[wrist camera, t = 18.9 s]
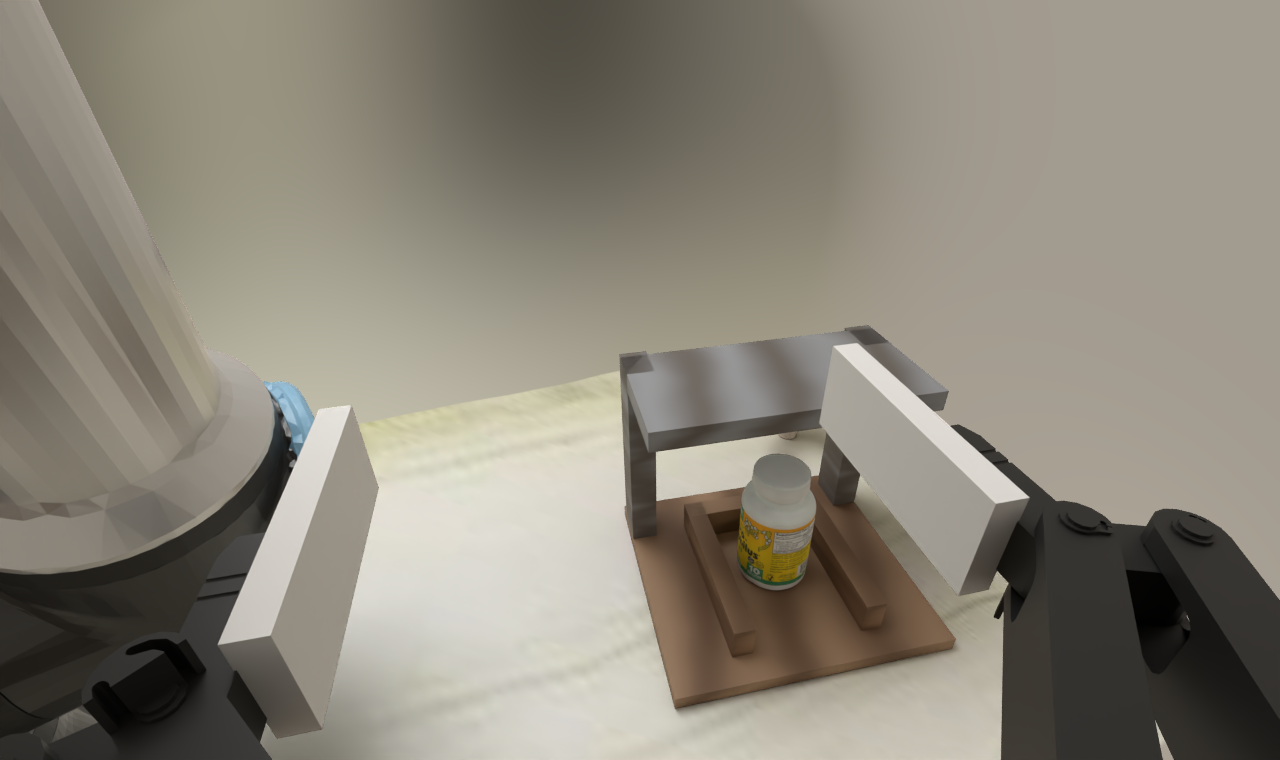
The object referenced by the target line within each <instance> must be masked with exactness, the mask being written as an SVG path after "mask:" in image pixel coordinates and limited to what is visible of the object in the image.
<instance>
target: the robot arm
mask: <svg viewBox="0 0 1280 760" xmlns="http://www.w3.org/2000/svg"><path fill="white" fill-rule="evenodd" d="M819 424H820V425H821V426H822V427H823V429H824V430H825V431H826V432H827V434H828V435H829V436H830V437H831V439H832V440H833V441H834V442H835V444H836V445H837V446H838V447H839V449H840V450H841V451H842V452H843V453H844V455H845V456H846V457H847V458H848V460H849V461H850V462H851V463H852V465H853V466H854V467H855V468H856V470H857V471H858V472H859V473H860V475H861V476H862V477H863V478H864V480H865V481H866V482H867V483H868V485H869V486H870V487H871V488H872V490H873V491H874V492H875V493H876V495H877V496H878V497H879V498H880V500H881V501H882V502H883V503H884V504H885V506H886V507H887V508H888V509H889V511H890V512H891V513H892V514H893V516H894V517H895V518H896V519H897V521H898V522H899V523H900V524H901V526H902V527H903V528H904V529H905V531H906V532H907V533H908V534H909V536H910V537H911V538H912V539H913V541H914V542H915V543H916V544H917V546H918V547H919V548H920V549H921V551H922V552H923V553H924V554H925V555H926V557H927V558H928V559H929V560H930V562H931V563H932V564H933V565H934V567H935V568H936V569H937V570H938V572H939V573H940V574H941V575H942V577H943V578H944V579H945V580H946V582H947V583H948V584H949V585H950V587H951V588H952V589H953V590H954V592H955V593H956V594H957V595H958V596H961V595H965V594H970V593H975V592H980V591H984V590H989V587H990V585H991V583H992V581H993V578H994V576H995V574H996V572H997V571H998V572H999V573H1000V574H1001V575H1002V576H1003V577H1004V578H1005V579H1006V581H1007V582H1008V583H1009V584H1008V586H1007V588H1006V590H1005V592H1004V594H1003V596H1002V599H1001V601H1000V603H999V605H998V607H997V609H996V612H995V614H994V618H997V619H999V618H1000V616H1001V614H1002V612H1004V627H1003V682H1002V737H1001V760H1163V758H1162V753H1161V748H1160V743H1159V738H1158V733H1157V728H1156V723H1157V725H1158V727H1159V729H1160V731H1161V733H1162V735H1163V737H1164V740H1165V742H1166V744H1167V746H1168V748H1169V750H1170V752H1171V754H1172V756H1173V758H1174V760H1280V600H1279V599H1278V598H1277V596H1276V595H1275V594H1274V593H1273V591H1272V590H1271V589H1270V587H1269V586H1268V585H1267V584H1266V582H1265V581H1264V579H1263V578H1262V577H1261V576H1260V574H1259V573H1258V572H1257V570H1256V569H1255V568H1254V567H1253V565H1252V564H1251V563H1250V561H1249V560H1248V559H1247V558H1246V556H1245V555H1244V554H1243V552H1242V551H1241V550H1240V549H1239V547H1238V546H1237V545H1236V543H1235V542H1234V541H1233V540H1232V538H1231V537H1230V536H1228V534H1227V533H1226V532H1225V531H1223V530H1222V529H1221V528H1220V527H1218V526H1217V525H1215V524H1214V523H1212V522H1210V521H1209V520H1207V519H1205V518H1203V517H1201V516H1198V515H1196V514H1193V513H1190V512H1186V511H1182V510H1177V509H1162V510H1159V511H1156V512H1155V513H1154V514H1153V516H1152V517H1151V519H1150V521H1149V522H1148V524H1147V526H1137V525H1125V524H1113V523H1111V522H1110V521H1109V520H1108V519H1107V518H1106V517H1105V516H1103V515H1102V514H1100V513H1098V512H1097V511H1095V510H1093V509H1092V508H1089V507H1086V506H1084V505H1081V504H1078V503H1073V502H1068V501H1055V500H1054V499H1053V498H1052V497H1051V496H1050V495H1048V494H1047V493H1046V492H1045V491H1044V490H1043V489H1042V488H1040V487H1039V486H1038V485H1037V484H1036V483H1034V482H1033V481H1032V480H1031V479H1030V478H1029V477H1028V476H1026V475H1025V474H1024V473H1023V472H1022V471H1021V470H1019V469H1018V468H1017V467H1016V466H1015V465H1014V464H1012V463H1009V462H1008V459H1007V458H1006V457H1004V456H1003V455H1002V454H1001V453H1000V452H996V451H995V448H994V447H993V446H991V445H990V444H989V443H988V442H987V441H986V440H985V439H983V438H982V437H981V436H980V435H978V434H976V433H974V432H972V431H970V430H968V429H966V428H965V427H962V426H961V425H952V426H949V425H948V424H947V423H946V422H945V421H944V420H943V419H941V418H940V417H939V416H938V415H937V414H936V413H935V412H934V411H933V410H931V409H930V408H929V407H928V406H927V405H926V404H925V403H924V402H922V401H921V400H920V399H919V398H918V397H917V396H916V395H915V394H914V393H912V392H911V391H910V390H909V389H908V388H907V387H906V386H905V385H904V384H902V383H901V382H900V381H899V380H898V379H897V378H896V377H895V376H894V375H892V374H891V373H890V372H889V371H888V370H887V369H886V368H885V367H883V366H882V365H881V364H880V363H879V362H878V361H877V360H876V359H875V358H873V357H872V356H871V355H870V354H869V353H868V352H867V351H866V350H865V349H863V348H862V347H861V346H860V345H859V344H858V343H853V344H845V345H837V346H833V349H832V355H831V360H830V366H829V372H828V377H827V383H826V388H825V394H824V399H823V405H822V410H821V416H820V422H819ZM378 488H379V487H378V484H377V481H376V478H375V475H374V472H373V469H372V466H371V463H370V460H369V457H368V454H367V450H366V447H365V444H364V441H363V438H362V435H361V432H360V429H359V426H358V423H357V420H356V417H355V414H354V411H353V408H352V405H348V406H340V407H331V408H323V409H319V410H318V412H317V415H316V417H315V418H314V416H313V414H312V412H311V410H310V408H309V406H308V404H307V402H306V400H305V398H304V397H303V395H302V394H301V392H300V391H299V390H298V389H297V388H296V387H295V386H293V385H292V384H290V383H287V382H282V381H280V382H273V383H270V382H265V381H264V382H263V381H262V380H261V379H260V378H259V377H258V376H257V375H256V374H255V372H253V371H252V370H251V369H250V368H249V367H248V366H247V365H245V364H244V363H242V362H241V361H239V360H237V359H236V358H234V357H231V356H229V355H227V354H225V353H222V352H220V351H216V350H213V349H209V348H207V347H205V346H204V344H203V342H202V340H201V338H200V335H199V334H198V331H197V329H196V327H195V325H194V323H193V321H192V319H191V317H190V315H189V313H188V311H187V308H186V306H185V304H184V302H183V300H182V298H181V296H180V294H179V292H178V290H177V288H176V286H175V284H174V281H173V279H172V277H171V275H170V273H169V271H168V269H167V267H166V265H165V263H164V261H163V259H162V257H161V254H160V253H159V250H158V248H157V246H156V244H155V242H154V240H153V238H152V236H151V234H150V232H149V229H148V227H147V225H146V223H145V221H144V219H143V217H142V215H141V213H140V211H139V209H138V207H137V205H136V203H135V200H134V198H133V196H132V194H131V192H130V190H129V188H128V186H127V184H126V182H125V180H124V178H123V175H122V173H121V171H120V169H119V167H118V165H117V163H116V161H115V159H114V157H113V155H112V153H111V151H110V149H109V146H108V144H107V142H106V140H105V138H104V136H103V134H102V132H101V130H100V128H99V126H98V124H97V122H96V120H95V117H94V115H93V113H92V111H91V109H90V107H89V105H88V103H87V101H86V99H85V97H84V95H83V92H82V91H81V88H80V86H79V84H78V82H77V80H76V78H75V76H74V74H73V72H72V70H71V67H70V65H69V63H68V61H67V59H66V57H65V55H64V53H63V51H62V49H61V47H60V45H59V43H58V41H57V38H56V36H55V34H54V32H53V30H52V28H51V26H50V24H49V22H48V20H47V18H46V15H45V13H44V12H43V9H42V7H41V5H40V3H39V1H38V0H0V760H272V759H271V758H270V756H269V755H268V753H267V752H266V751H265V749H264V748H263V747H262V745H261V744H260V740H261V737H262V734H263V731H264V728H265V724H266V722H267V724H268V725H269V727H270V729H271V730H272V732H273V733H274V735H275V736H276V738H277V739H278V738H283V737H287V736H292V735H297V734H302V733H307V732H311V731H316V730H321V729H322V728H323V724H324V720H325V716H326V711H327V707H328V703H329V698H330V694H331V690H332V686H333V681H334V677H335V673H336V668H337V664H338V660H339V656H340V651H341V647H342V643H343V638H344V634H345V630H346V626H347V621H348V617H349V613H350V608H351V604H352V600H353V596H354V591H355V587H356V583H357V578H358V574H359V570H360V566H361V561H362V557H363V553H364V548H365V544H366V540H367V536H368V531H369V527H370V523H371V518H372V514H373V510H374V506H375V501H376V497H377V493H378ZM1186 616H1188V618H1189V620H1188V618H1187V617H1186ZM1189 621H1190V622H1189ZM1155 720H1156V723H1155Z"/></svg>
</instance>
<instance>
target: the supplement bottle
mask: <svg viewBox="0 0 1280 760" xmlns="http://www.w3.org/2000/svg"><path fill="white" fill-rule="evenodd" d="M810 483H811V471H810V469H809V467H808V466H807V465H806V464H805V463H804V462H803V461H801V460H800V459H798V458H795V457H793V456H790V455H785V454H770V455H766V456H764V457H762V458H760V459H759V460H758V461H757V462H756V463H755V466H754V470H753V476H752V481H750V482H749V483H748V484H747V486H746V487H745V489H744V491H743V494H742V500H741V513H740V526H739V537H738V548H737V563H738V567H739V569H740V571H741V572H742V574H743V575H744V576H745V578H747V579H748V580H749V581H751V582H752V583H754V584H756V585H757V586H759V587H761V588H764V589H769V590H784V589H788V588H791V587H793V586H795V585H796V584H798V583H799V582H800V581H801V579H802V578H803V576H804V574H805V571H806V567H807V561H808V556H809V550H810V544H811V538H812V532H813V526H814V520H815V514H816V500H815V497H814V495H813V493H812V492H811V490H810Z"/></svg>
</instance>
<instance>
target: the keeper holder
mask: <svg viewBox="0 0 1280 760" xmlns="http://www.w3.org/2000/svg"><path fill="white" fill-rule="evenodd" d="M853 343H858V344H859V345H860V346H861V347H862V348H863V349H865V350H866V351H867V352H868V353H869V354H870V355H871V356H872V357H873V358H875V359H876V360H877V361H878V362H879V363H880V364H881V365H882V366H883V367H885V368H886V369H887V370H888V371H889V372H890V373H891V374H892V375H894V376H895V377H896V378H897V379H898V380H899V381H900V382H901V383H902V384H904V385H905V386H906V387H907V388H908V389H909V390H910V391H911V392H912V393H914V394H915V395H916V396H917V397H918V398H919V399H920V400H921V401H922V402H924V403H925V404H926V405H927V406H928V407H929V408H930V409H931V410H933V411H940V410H943V409H944V405H945V402H946V399H947V395H948V392H949V391H948V390H947V389H946V388H945V387H943V386H942V385H941V384H940V383H938V382H937V381H936V380H935V379H933V378H932V377H931V376H930V375H929V374H927V373H926V372H925V371H924V370H923V369H921V368H920V367H919V366H918V365H916V364H915V363H914V362H913V361H911V360H910V359H909V358H908V357H907V356H905V355H904V354H903V353H902V352H900V351H899V350H898V349H897V348H895V347H894V346H893V345H892V344H891V343H889V342H888V341H887V340H886V339H885V338H883V337H882V336H881V335H880V334H878V333H877V332H876V331H875V330H873V329H872V328H871V327H870V326H869V325H867V326H857V327H849V328H845V331H841V332H833V333H824V334H816V335H808V336H799V337H790V338H782V339H774V340H765V341H757V342H748V343H739V344H732V345H723V346H714V347H706V348H697V349H689V350H680V351H672V352H663V353H655V354H647V353H646V351H643V352H636V353H627V354H620V378H621V400H622V422H623V444H624V466H625V488H626V506H625V516H626V520H627V524H628V528H629V532H630V536H631V540H632V544H633V547H634V551H635V555H636V559H637V563H638V567H639V571H640V575H641V579H642V582H643V586H644V590H645V594H646V598H647V602H648V606H649V610H650V613H651V617H652V621H653V625H654V629H655V633H656V637H657V641H658V645H659V648H660V652H661V656H662V660H663V664H664V668H665V672H666V676H667V680H668V683H669V687H670V691H671V695H672V699H673V703H674V707H675V708H679V707H684V706H688V705H693V704H698V703H702V702H707V701H711V700H716V699H721V698H725V697H730V696H734V695H739V694H744V693H748V692H753V691H757V690H762V689H767V688H771V687H776V686H781V685H785V684H790V683H794V682H799V681H804V680H808V679H813V678H817V677H822V676H827V675H831V674H836V673H840V672H845V671H850V670H854V669H859V668H863V667H868V666H873V665H877V664H882V663H886V662H891V661H896V660H900V659H905V658H909V657H914V656H919V655H923V654H928V653H932V652H937V651H942V650H946V649H951V648H952V647H953V645H954V642H955V640H956V639H955V638H954V636H953V635H952V633H951V632H950V631H949V629H948V628H947V627H946V625H945V624H944V623H943V621H942V620H941V619H940V617H939V616H938V615H937V613H936V612H935V611H934V609H933V608H932V607H931V605H930V604H929V602H928V601H927V600H926V598H925V597H924V596H923V594H922V593H921V592H920V590H919V589H918V588H917V586H916V585H915V584H914V582H913V581H912V580H911V578H910V577H909V576H908V574H907V573H906V571H905V570H904V569H903V567H902V566H901V565H900V563H899V562H898V561H897V559H896V558H895V557H894V555H893V554H892V553H891V551H890V550H889V549H888V547H887V546H886V545H885V543H884V542H883V540H882V539H881V538H880V536H879V535H878V534H877V532H876V531H875V530H874V528H873V527H872V526H871V524H870V523H869V522H868V520H867V519H866V518H865V516H864V515H863V513H862V512H861V511H860V509H859V508H858V507H857V505H856V504H855V503H854V499H855V495H856V490H857V486H858V481H859V477H860V473H859V472H858V471H857V470H856V468H855V467H854V466H853V465H852V463H851V462H850V461H849V460H848V458H847V457H846V456H845V455H844V453H843V452H842V451H841V450H840V449H839V447H838V446H837V445H836V444H835V442H834V441H833V440H832V439H831V437H830V436H829V435H828V434H827V433H826V439H825V445H824V451H823V456H822V462H821V468H820V473H819V476H812V477H811V483H810V490H811V492H812V493H813V495H814V497H815V500H816V514H815V520H814V526H813V532H812V538H811V544H810V550H809V556H808V561H807V567H806V571H805V574H804V576H803V578H802V579H801V581H800V582H799V583H798V584H796V585H795V586H793V587H791V588H788V589H784V590H769V589H764V588H761V587H759V586H757V585H756V584H754V583H752V582H751V581H749V580H748V579H747V578H745V576H744V575H743V574H742V572H741V571H740V569H739V567H738V563H737V548H738V537H739V526H740V513H741V500H742V494H743V491H744V489H745V487H743V488H737V489H731V490H724V491H718V492H712V493H705V494H699V495H693V496H687V497H680V498H674V499H668V500H661V501H656V452H658V451H665V450H672V449H679V448H685V447H692V446H699V445H706V444H713V443H720V442H727V441H734V440H741V439H747V438H754V437H761V436H768V435H775V434H782V433H789V432H796V431H802V430H809V429H816V428H823V427H822V426H821V425H820V424H819V422H820V416H821V410H822V405H823V399H824V394H825V388H826V383H827V377H828V372H829V366H830V360H831V355H832V349H833V346H837V345H845V344H853Z"/></svg>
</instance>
